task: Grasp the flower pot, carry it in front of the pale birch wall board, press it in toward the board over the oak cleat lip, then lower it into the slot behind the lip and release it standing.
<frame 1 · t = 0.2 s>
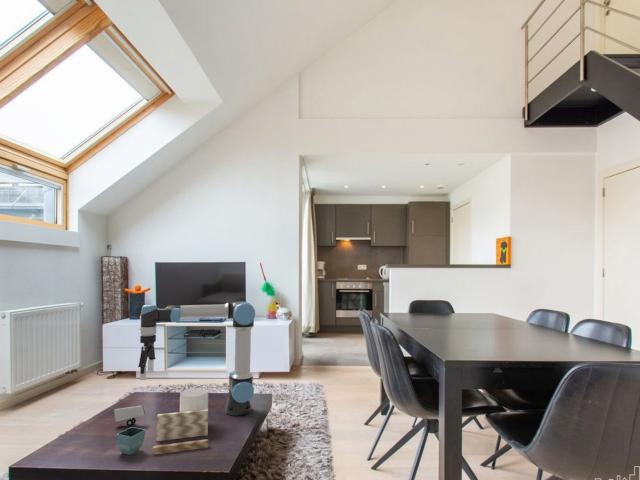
hand: (146, 376, 197), 28 cm above the table, fingers open, 13 cm apart
container: (193, 427, 202), on the table
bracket: (116, 418, 202), point 4 cm above the table
flower pot: (130, 452, 174), on the table
cleat board: (181, 443, 182), on the table
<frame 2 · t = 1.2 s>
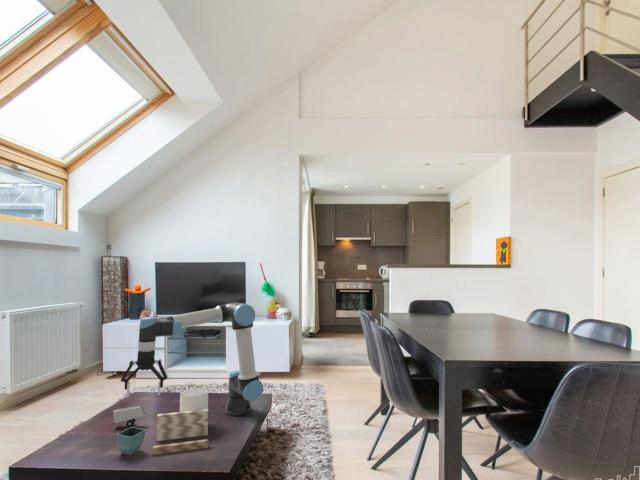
hand: (143, 395, 181), 23 cm above the table, fingers open, 13 cm apart
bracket: (115, 419, 201), point 3 cm above the table
everything else where it was.
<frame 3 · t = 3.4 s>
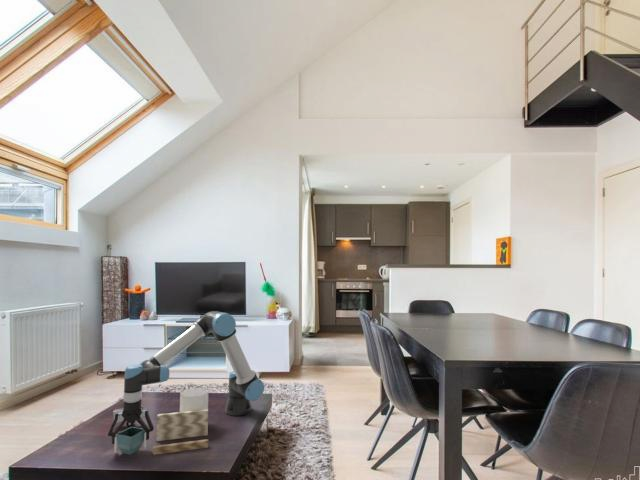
hand: (130, 448, 174), 1 cm above the table, fingers closed on flower pot, 11 cm apart
flower pot: (130, 452, 174), on the table, touching gripper
everything else where it was.
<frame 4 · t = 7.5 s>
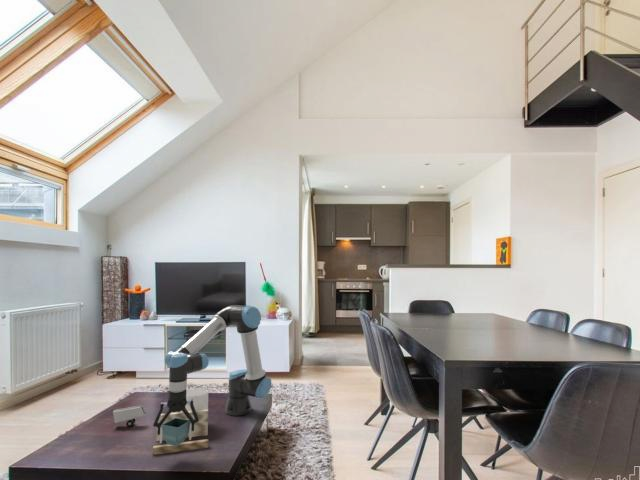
hand: (175, 440, 169), 8 cm above the table, fingers closed on flower pot, 11 cm apart
flower pot: (175, 443, 168), point 6 cm above the table, touching gripper
everything else where it was.
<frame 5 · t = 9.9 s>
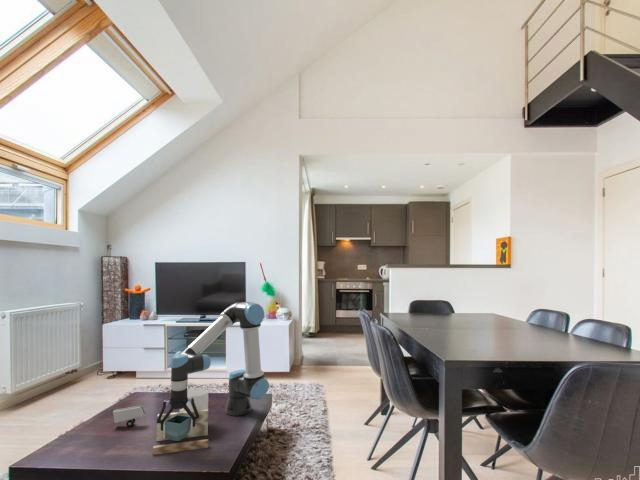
hand: (177, 435, 180), 5 cm above the table, fingers closed on flower pot, 11 cm apart
flower pot: (178, 438, 179), point 3 cm above the table, touching gripper
everything else where it was.
when the fingers open (3 cm above the table, at t = 11.8 s): flower pot moves 2 cm, on the table.
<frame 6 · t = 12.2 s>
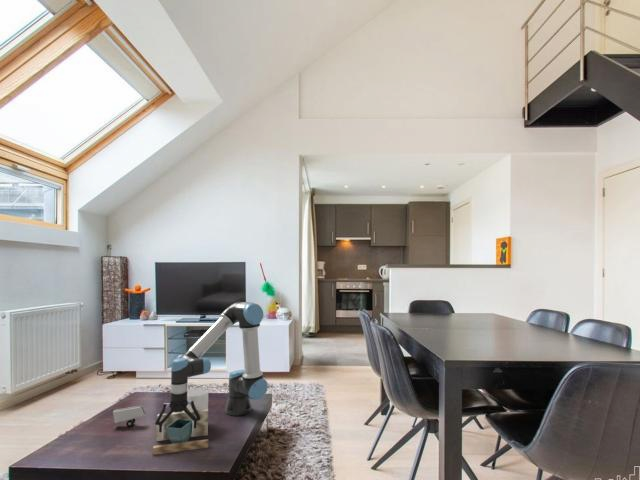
hand: (177, 437, 182), 3 cm above the table, fingers open, 13 cm apart
flower pot: (181, 442, 182), on the table, touching gripper
everything else where it was.
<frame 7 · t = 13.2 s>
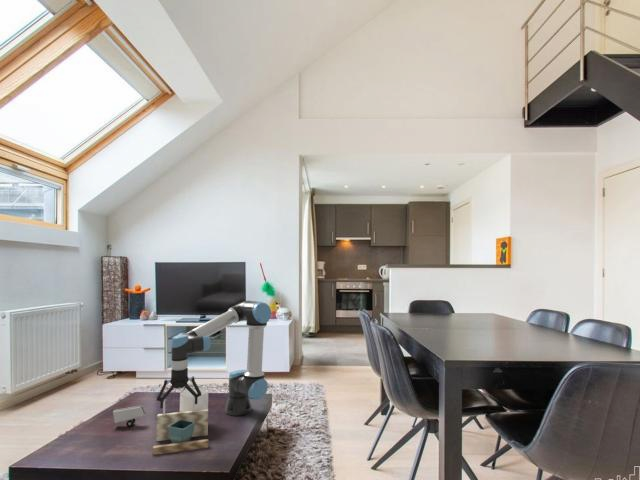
hand: (179, 412, 183), 14 cm above the table, fingers open, 13 cm apart
flower pot: (181, 443, 182), on the table, touching cleat board
everything else where it was.
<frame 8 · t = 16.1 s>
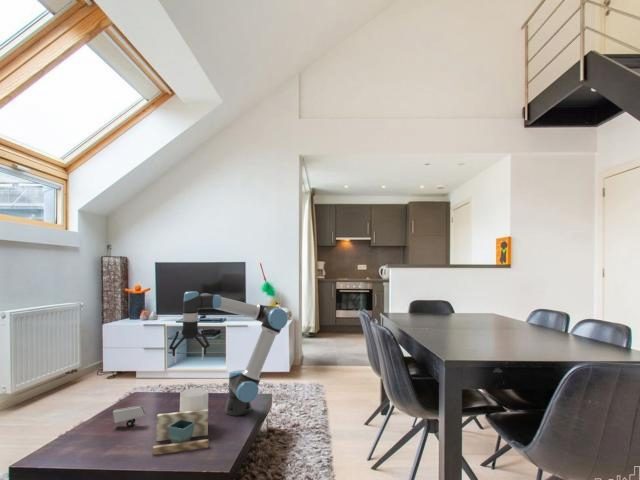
hand: (189, 361, 200), 35 cm above the table, fingers open, 13 cm apart
nothing on the table moved.
at the end: flower pot inside the target area on the cleat board (0.3 cm from its centre), point 0.0 cm above the cleat board's base; flower pot tilted 0°; the gripper is holding nothing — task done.
